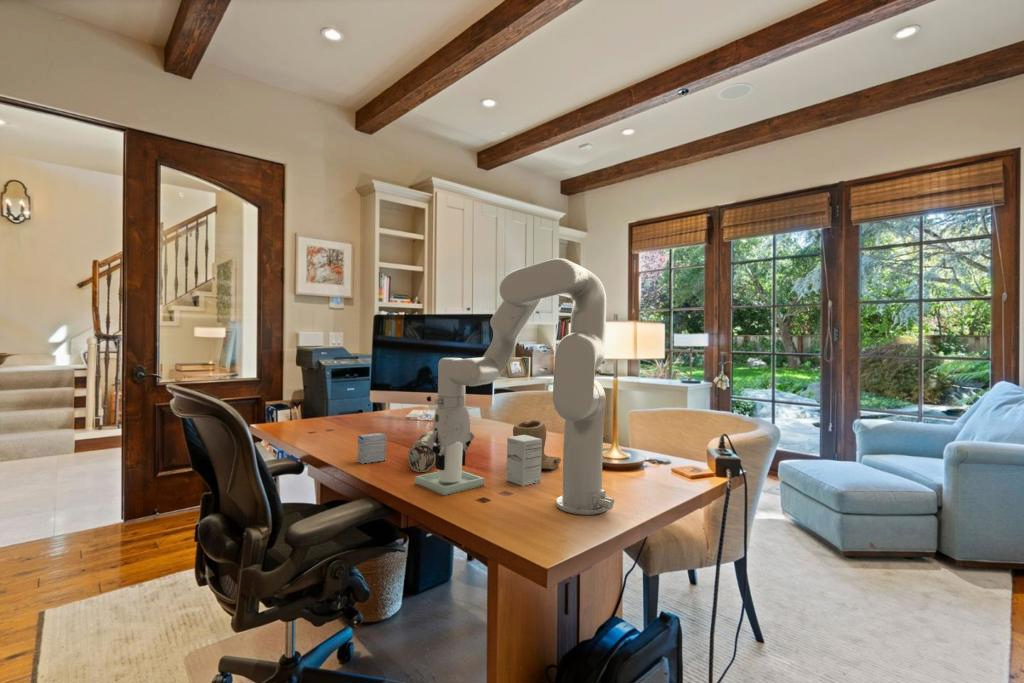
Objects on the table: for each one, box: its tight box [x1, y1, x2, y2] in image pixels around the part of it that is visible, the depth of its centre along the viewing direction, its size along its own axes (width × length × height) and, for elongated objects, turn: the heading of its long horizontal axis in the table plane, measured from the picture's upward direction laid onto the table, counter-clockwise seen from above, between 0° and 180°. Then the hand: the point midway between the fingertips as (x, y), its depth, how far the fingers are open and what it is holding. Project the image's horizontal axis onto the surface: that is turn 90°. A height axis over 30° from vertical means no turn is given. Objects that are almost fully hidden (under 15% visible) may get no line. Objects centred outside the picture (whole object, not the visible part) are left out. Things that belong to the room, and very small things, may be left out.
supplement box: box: [505, 435, 542, 487], centre depth 139 cm, size 7×7×13 cm
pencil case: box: [407, 429, 436, 473], centre depth 156 cm, size 22×8×10 cm, turn 2°
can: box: [437, 442, 463, 483], centre depth 134 cm, size 6×6×12 cm
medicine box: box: [357, 432, 387, 465], centre depth 158 cm, size 8×4×9 cm, turn 130°
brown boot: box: [512, 419, 562, 470], centre depth 154 cm, size 15×12×15 cm
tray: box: [414, 470, 486, 497], centre depth 134 cm, size 14×14×2 cm
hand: (450, 466), depth 134 cm, fingers open, 6 cm apart
